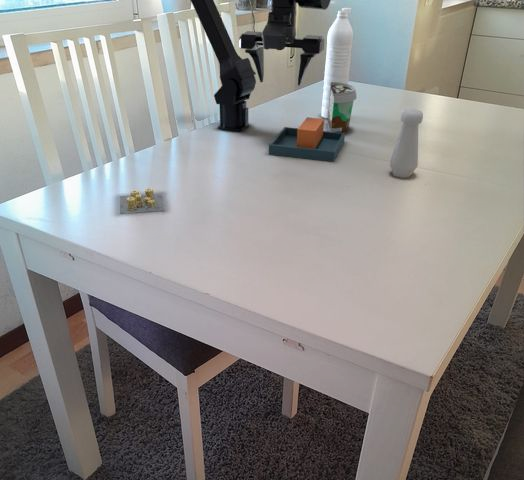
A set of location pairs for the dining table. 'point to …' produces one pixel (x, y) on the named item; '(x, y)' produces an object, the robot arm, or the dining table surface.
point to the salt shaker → (406, 144)
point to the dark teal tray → (288, 147)
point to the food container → (340, 106)
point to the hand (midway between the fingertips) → (280, 83)
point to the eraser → (310, 133)
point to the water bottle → (337, 56)
